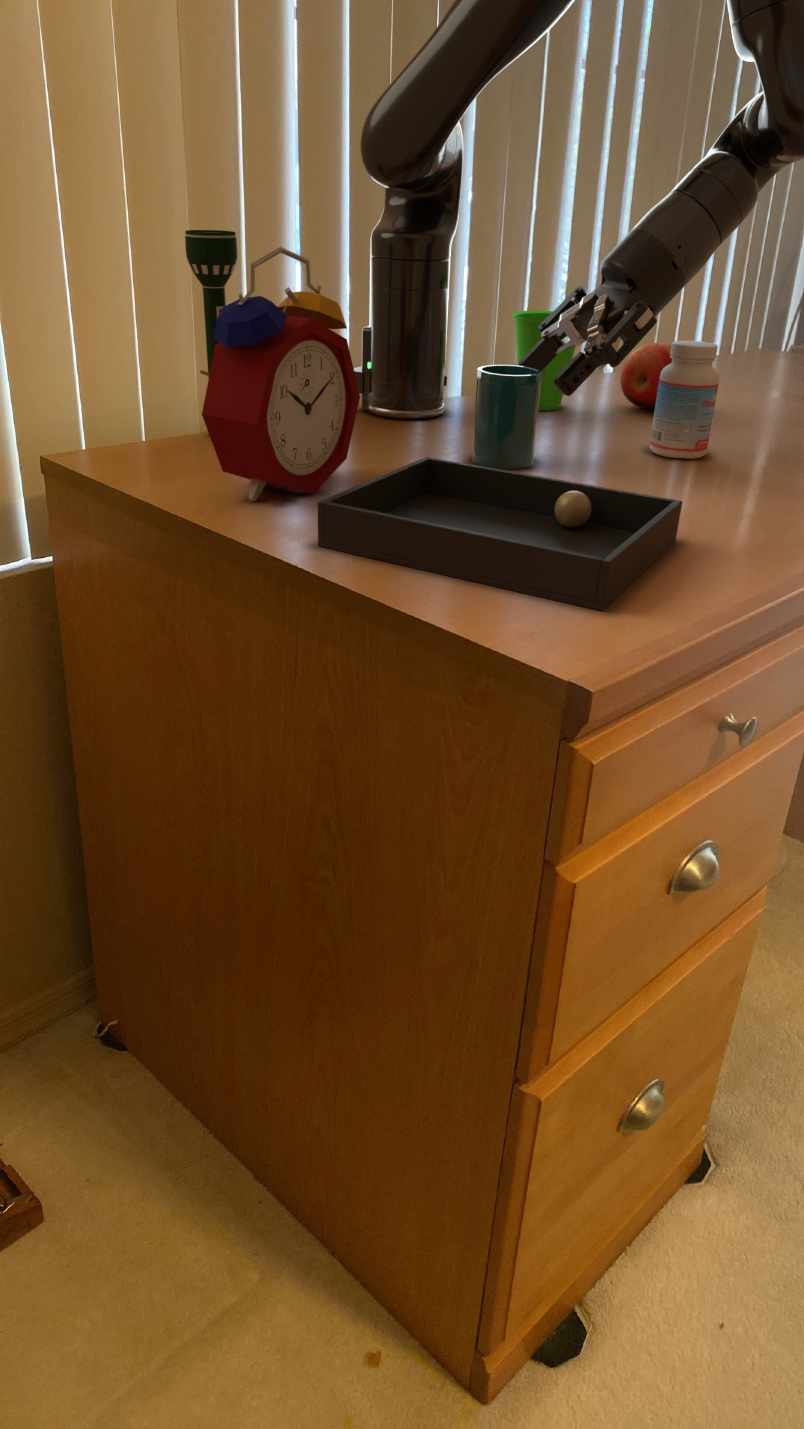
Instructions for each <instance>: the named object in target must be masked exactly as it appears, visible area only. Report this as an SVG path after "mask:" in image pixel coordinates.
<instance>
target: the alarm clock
mask: <svg viewBox="0 0 804 1429" xmlns="http://www.w3.org/2000/svg"><path fill="white" fill-rule="evenodd" d="M279 254H282V255H285V256H287V257H288V258H292V259H294V260H296V261H298V262H301V263H302V264H305V276H306V279H305V280H306V286H307V287H308V288H309V289H310V290H312V291H313V292H311V291H303V290H301V291H300V290H299V291H292V289H291V288H290V287H289V286H288V287H286V288H285V289H284V292H285V294H286V298H284V299H283V300H282V301H281V302H280V303H279V305H277V304H275V303H274V302H273V301H272V300H269V299H268V298H266V297H264V296H262V295H256V296H251V295H253V293H255V290H256V288H255V287H256V286H255V283H256V282H255V281H256V280H255V278H256V277H255V276H256V271H255V270H256V268H257V267H259V266H260V265H262V264H264V263H265V262H267V261H269V260H270V259H273V258H274V257H276V256H277V255H278V256H279ZM310 266H311V265H310V259H309V258H307V257H304V256H302V255H299V254H298V253H295V252H293V251H291V250H289V249H286V248H285V247H282V246H279V247H278V248H276V249H273V251H271V252H268V253H267V254H265V255H264V256H262V257H260V258H259V259H256V260H255V261H252V262H251V263H250V288H249V290H248V292H247V293H246V294H245V295H244V296H243V293H242V292H240V293H238V294H237V295H238V298H239V299H236V300H234V301H232V302H230V303H228V304H226V306H224V307H223V308H222V310H221V312H220V314H219V316H218V318H217V322H216V326H215V330H214V334H213V339H215V340H217V341H218V342H219V343H217V344H216V345H215V349H214V355H213V360H212V365H211V370H210V373H209V372H208V371H206V370H203V369H200V372H199V374H201V375H204V376H207V377H208V376H209V379H208V381H207V386H206V389H205V390H206V391H205V396H204V401H203V404H202V411H201V417H202V419H203V422H204V424H205V427H206V430H207V432H208V435H209V438H210V440H211V443H212V445H213V449H214V451H215V454H216V457H217V459H218V462H219V465H220V468H221V471H222V472H223V473H226V474H230V475H234V476H236V477H240V478H244V479H246V480H250V483H249V489H248V490H249V491H248V496H247V499H248V500H249V501H250V502H256V501H257V499H258V498H259V496H260V495H261V493H262V491H263V490H264V488H265V486H266V485H268V486H273V487H277V488H278V487H279V488H283V489H287V490H293V491H298V492H301V493H306V494H311V495H314V494H315V493H316V492H317V491H319V489H320V488H321V487H322V486H323V484H324V483H325V482H326V481H327V480H328V479H329V478H330V477H331V476H332V475H333V474H334V473H335V471H336V470H338V468H339V467H340V466H342V464H344V462H345V461H346V460H347V459H348V454H349V450H350V445H351V440H352V436H353V431H354V426H355V422H356V418H357V414H358V409H359V404H360V400H361V393H359V390H358V386H357V381H356V377H355V373H354V368H355V367H354V364H353V360H352V356H351V352H350V347H349V343H348V339H347V338H345V337H344V336H342V335H340V334H339V333H337V332H335V331H333V330H345V329H346V330H347V329H348V327H347V324H346V320H345V316H344V314H343V310H342V308H341V306H340V304H339V303H338V302H337V301H335V300H333V299H332V298H329V297H326V296H325V295H323V294H322V293H321V289H322V285H319V284H317V286H316V287H315V286H314V285H313V284H312V282H311V267H310Z"/></svg>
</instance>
